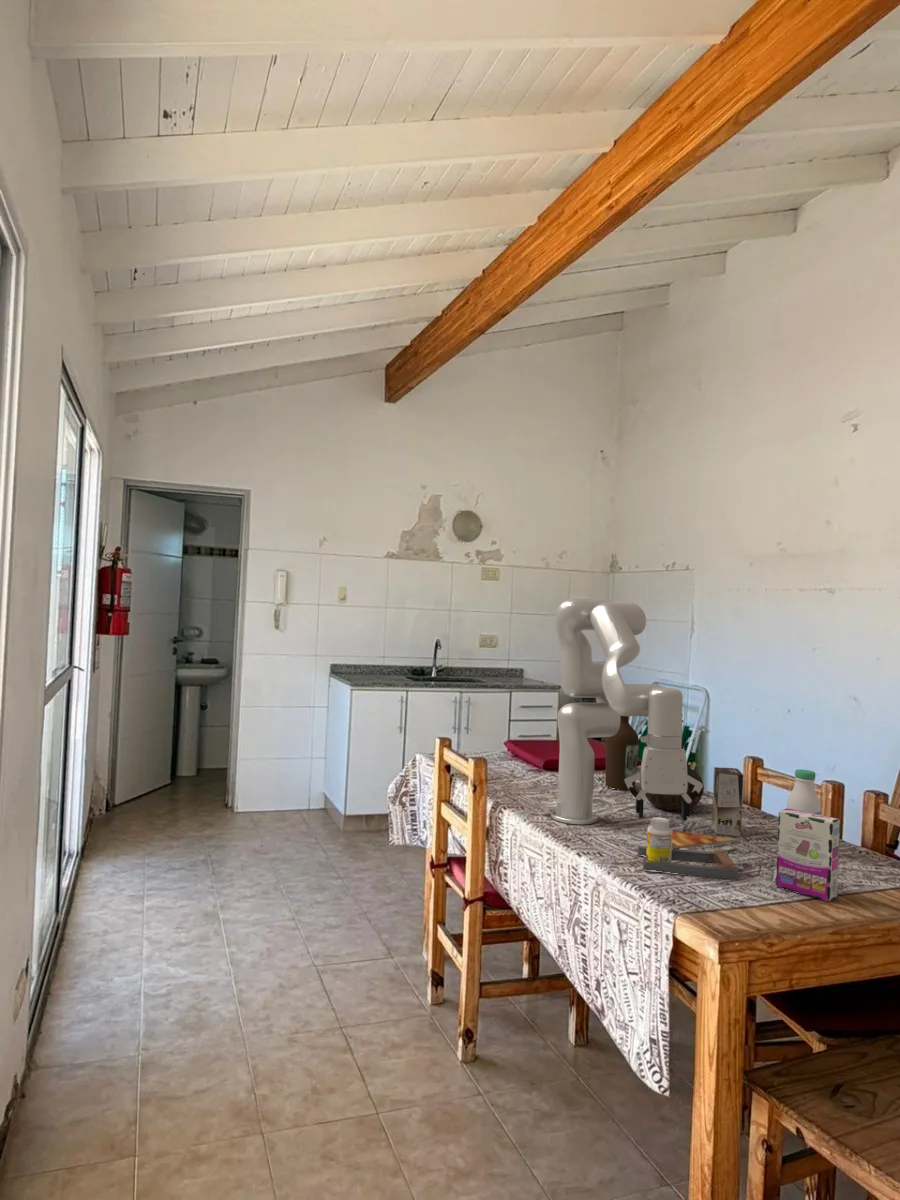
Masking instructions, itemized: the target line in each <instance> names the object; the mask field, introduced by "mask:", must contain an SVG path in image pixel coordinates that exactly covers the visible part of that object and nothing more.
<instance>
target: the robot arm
mask: <svg viewBox="0 0 900 1200" xmlns="http://www.w3.org/2000/svg"><path fill="white" fill-rule="evenodd" d="M554 623H555V630H556V635H557V638H558V642H559V646H560V647H559V648H560V674H561V687H562V690H563V692H564V694H565V695H566V696H568V697H570V698H582V699H583V698H584V699H585V698H588V699H589V698H591V699H592V698H595V700H596V702H571V703H566V704H564V705H563V706H562V707H560V709H559V710H558V711H557V712H558V713H557V716H556V718H557V719H556V720H557V728H558V729H557V730H558V738H559V740H558V741H559V755H558V757H559V758H558V779H557V784H558V785H557V797H556V798H555V800H552V801H548V800H540V808H542V809H544V810H547V811H548V810H552V811H551V813H550V816H551V818H552V819H553V820H555V821H558V822H560V823H564V824H571V825H591V824H595V823H597V822H598V820H599V819H598V818H599V817H598V816H599V815H597V814H596V813H595V812H593V806H594V805H593V803H594V783H595V782H594V781H595V780H594V779H595V751H594V749H593V747H592V745H591V744H590V742H589V740H588V739H590V738H591V739H592V738H606V737H611V736H614V735H615V734H616V733H617V732H618V730H619V727H620V715H621V716H629V717H647V733H646V735H642V736H640V742H641V743H644V744H646V746H644V749H643V751H642V758H641V765H640V771H637V773H636V774H633V775H631V776H629V777H627V778H625V779H624V781H625V783H626V785H627V787H628V789H629V793H631V795H633V797H634V798H635V813H636V814H637V815H638V818H640V819H643V818H644V800H643V797H644V796H645V794H646V793H652V794H668V795H681V796H682V797H683V801H682V810H681V811H680V812H681V814H680V815H681V817H680V818H681V819H682V821H685V822H687V821H688V817H689V818H690V816H691V815H690V814H691V813H690V809H691V808H690V803H691V802H692V800H693V799H695V798H696V797H697V796H698V794H699V792H700V790H701V789H702V787H703V785H704V783H703V784H702V783H701V782H699V781H697V780H696V779H694V778H692V777H690V776H689V775H687V765H688V763H687V761H688V760H687V755H686V750H685V749H684V750H683V749H681V742H682V735H683V722H682V720H683V717H682V714H683V701H684V699H683V693H682V691H681V690H679V689H678V688H671V687H665V686H662V685H659V684H645V683H644V684H643V683H641V684H639V683H625V682H624V680H623V677H622V675H621V672H620V668H622V667H624V666H626V665H628V664H630V663H631V662H633V661H635V660H636V658H637V657H638V656H639V654H640V651H641V647H640V644H639V642H638V640H637V638H636V636H638V635H640V634H642V633H643V632H644V630H645V629H646V625H647V617H646V614H645V612H644V609H642V607H641V606H639V605H638V604H636V603H633V602H632V603H631V602H624V601H617V600H609V599H608V600H606V599H592V598H591V599H590V598H571V599H567V600H565V601H562V602H561V603H560V604H559V606H558V608H557V610H556V613H555V621H554ZM582 631H594V632H595V634H596V636H597V638H598V641H599V643H600V644H601V648H602V649H603V652H604V654H605V657H606V658H607V659H606V660H605V662H604V663H603V662H602V663H600V662H599V663H598V662H597V663H594V662H593V655H592V645H591V643H590V641H589V640H588V638H587V636H586V635H585V634H584V632H582ZM638 780H639V784H640V785H639V786H640V787H639V788H638V790H636V787H635V788H634V787H633V785H632V782H634V781H635V782H636V781H638ZM688 782H689V783H691V784H693V785H694V786H695V787H694V789H693V790H692V791H691V792H690V793H689V794H687V788H688Z"/></svg>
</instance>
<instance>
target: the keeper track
mask: <svg viewBox="0 0 900 1200" xmlns="http://www.w3.org/2000/svg"><path fill="white" fill-rule="evenodd" d="M646 853H647V846H643V845H638V846H637V856H638V855H645V856H646ZM675 859H680V860H679V861H686V860H687V862H688V861H689V862H699V863H701V862H702V863H709V864H710V863H713V866H712V865H699V864H690V863H677V862H671V863H668V862H656V861H646V859H645V860H642V870H643V869H646V870H656V871H662V872H670V873H678V874H685V875H684V876H688V875H694V876H693V877H700V876H703V878H712V879H713V878H714V879H724V880H734V879H736V880H738V877H739V876H738V875H739V874H738V873H739V870H738V869H737V868H736V867H735V863H734V861H733V860H732V858H731V857H730V856H729V854H728V853H727V851H726V850H720V849H718V850H717V849H714V850H713V851H705V850H704V851H703V850H690V849H681V848H674V849H672V856H671V860H675Z"/></svg>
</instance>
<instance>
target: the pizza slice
mask: <svg viewBox="0 0 900 1200" xmlns="http://www.w3.org/2000/svg"><path fill="white" fill-rule="evenodd" d="M649 826H651V822H650V823H649V824H648V825H647V829H648V827H649ZM671 830H672V848H674V849H680V848H679V847H682V848H691V847H697V846H698V847H699V846H706V845H715V844H723V843H724V844H725V843H731V842H737V840H738V839H737V838H730V837H723V836H715V835H708V834H702V833H701V834H700V833H695V832H686V831H679V830H674V829H671ZM690 846H691V847H690Z"/></svg>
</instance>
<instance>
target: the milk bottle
mask: <svg viewBox="0 0 900 1200" xmlns="http://www.w3.org/2000/svg"><path fill="white" fill-rule="evenodd" d="M794 776H795V777H794V779H795V781H794V782H795V783H794V787H793V788H792V790H791V792H790V794H789V796H788V798H787V803H786V809H787V808H789V809H794V810H799V811H804V812H808V813H813V814H818V815H822V814H821V802H820V799H819V797H818V793H817V791H816V788H815V782H816V772H815V771H813V770H809V769H796V770H795V771H794Z"/></svg>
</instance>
